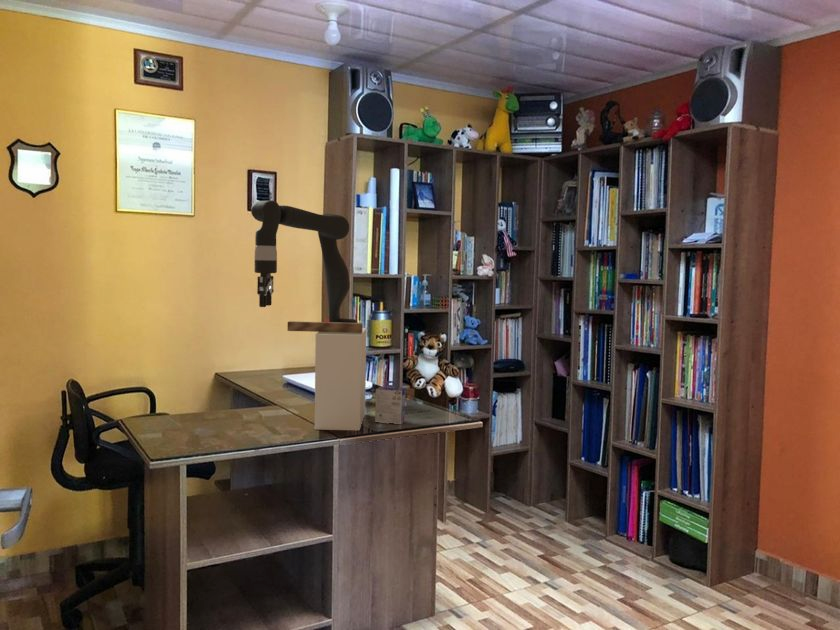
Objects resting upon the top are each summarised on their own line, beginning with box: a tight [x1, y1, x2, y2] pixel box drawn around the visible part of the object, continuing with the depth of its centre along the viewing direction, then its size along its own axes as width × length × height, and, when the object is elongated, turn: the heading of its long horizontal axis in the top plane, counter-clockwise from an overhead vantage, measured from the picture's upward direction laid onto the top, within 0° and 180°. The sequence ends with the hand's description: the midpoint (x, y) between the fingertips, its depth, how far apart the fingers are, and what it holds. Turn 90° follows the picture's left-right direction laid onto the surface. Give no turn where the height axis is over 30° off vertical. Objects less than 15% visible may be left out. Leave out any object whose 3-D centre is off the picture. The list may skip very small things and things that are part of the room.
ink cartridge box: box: [374, 380, 406, 425], centre depth 245 cm, size 10×6×14 cm, turn 78°
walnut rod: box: [287, 320, 364, 333], centre depth 236 cm, size 25×3×3 cm, turn 90°
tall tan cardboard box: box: [314, 327, 367, 431], centre depth 244 cm, size 15×24×32 cm, turn 0°
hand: (265, 306), depth 241 cm, fingers open, 8 cm apart
